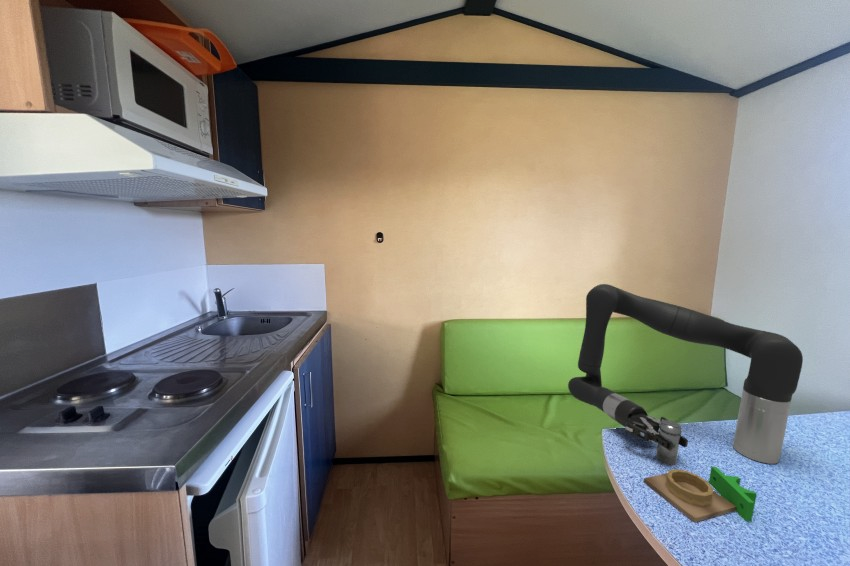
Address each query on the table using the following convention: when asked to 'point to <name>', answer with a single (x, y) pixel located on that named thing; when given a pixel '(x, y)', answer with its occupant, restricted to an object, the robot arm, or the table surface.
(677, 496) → the ring seat
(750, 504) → the green bracket
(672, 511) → the table surface
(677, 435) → the grey lidded jar
